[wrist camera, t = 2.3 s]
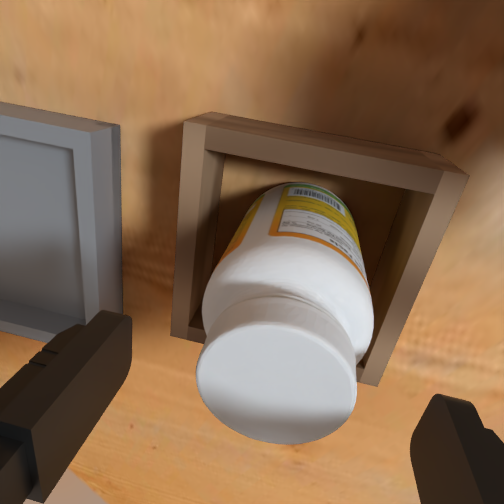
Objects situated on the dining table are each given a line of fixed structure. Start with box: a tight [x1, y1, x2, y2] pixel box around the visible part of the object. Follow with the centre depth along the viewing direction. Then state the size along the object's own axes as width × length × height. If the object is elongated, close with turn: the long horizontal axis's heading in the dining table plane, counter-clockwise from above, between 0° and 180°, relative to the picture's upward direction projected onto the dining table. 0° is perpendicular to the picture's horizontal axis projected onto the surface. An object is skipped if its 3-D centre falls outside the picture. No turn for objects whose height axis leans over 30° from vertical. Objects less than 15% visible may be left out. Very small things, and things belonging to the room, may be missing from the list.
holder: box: [170, 112, 469, 387], centre depth 16 cm, size 10×10×4 cm
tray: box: [0, 102, 123, 343], centre depth 19 cm, size 12×12×2 cm
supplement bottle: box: [196, 182, 374, 444], centre depth 13 cm, size 5×5×10 cm
